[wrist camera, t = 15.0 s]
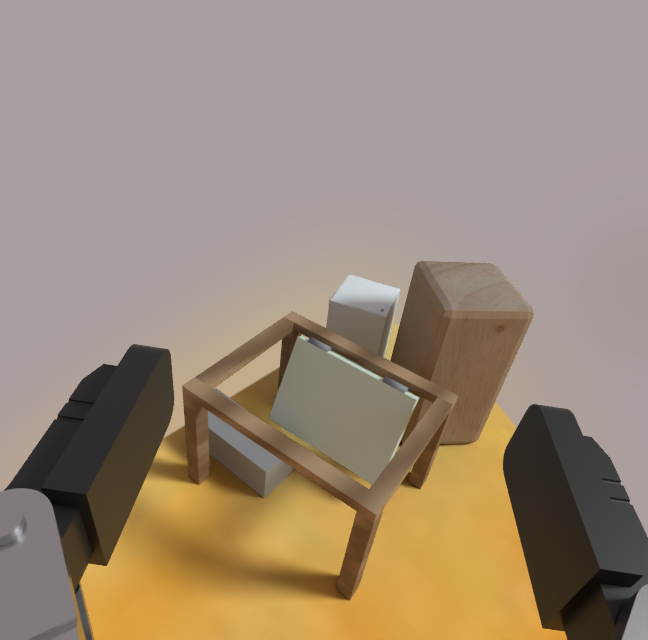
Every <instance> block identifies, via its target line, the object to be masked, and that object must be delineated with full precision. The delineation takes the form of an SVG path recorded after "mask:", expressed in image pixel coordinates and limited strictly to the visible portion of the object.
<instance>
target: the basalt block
mask: <svg viewBox="0 0 648 640" xmlns="http://www.w3.org/2000/svg"><path fill="white" fill-rule="evenodd" d="M214 390H216V391H217V392H219V393H220V394H222V395H223V396H225V397H226V398H228V399H230V398H229V397H228V396H226V395H225V394H223V393H222V392H221V391H219V390H218V389H214ZM230 400H231V401H233V400H232V399H230ZM233 402H234V403H236V402H235V401H233ZM236 404H237V403H236ZM237 405H239V404H237ZM239 406H240V405H239ZM240 407H242V406H240ZM242 408H243V407H242ZM243 409H244V408H243ZM245 410H246V409H245ZM248 412H249V411H248ZM208 434H209V454H210V455H211V456H212V457H213V458H215V459H216V460H217V461H218V462H220V463H221V464H222V465H223V466H225V467H226V468H227V469H228V470H230V471H231V472H232V473H233V474H235V475H236V476H237V477H238V478H239V479H241V480H242V481H243V482H244V483H246V484H247V485H248V486H249V487H251V488H252V489H253V490H254V491H256V492H257V493H258V494H259V495H260V496H262V497H263V498H265V497H266V496H267V495H268V494H269V493H270V492H271V491H272V490H273V489H275V488H276V487H277V486H278V485H279V484H280V483H281V482H282V481H283V480H284V479H285V478H286V477H287V476H288V475H289V474H290V473H291V472H292V471H293V468H292V467H290V466H289V465H288V464H286V463H285V462H283V461H282V460H280V459H279V458H277V457H276V456H274V455H273V454H271V453H270V452H268V451H267V450H265V449H264V448H262V447H261V446H259V445H258V444H256V443H255V442H253V441H252V440H250V439H249V438H247V437H246V436H245V435H243V434H242V433H240V432H239V431H237V430H236V429H234V428H233V427H231V426H230V425H228V424H227V423H225V422H224V421H222V420H221V419H219V418H218V417H216V416H215V415H213V414H212V413H210V412H209V411H208Z"/></svg>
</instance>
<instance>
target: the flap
mask: <svg viewBox="0 0 648 640" xmlns="http://www.w3.org/2000/svg"><path fill="white" fill-rule="evenodd" d="M418 400H419V397H417V396H415V395H413V394H412V393H410V392H408V387H406V386H404V385H402V384H400V383H398V382H396V381H394V380H393V379H391V378H389V377H387V376H386V377H385V378H384V379H383V378H381V377H379V376H378V375H376V374H374V373H372V372H370V371H368V370H366V369H364V368H362V367H360V366H359V365H357V364H355V363H353V362H351V361H349V360H347V359H345V358H343V357H342V356H340V355H338V354H336V353H334V352H332V351H331V347H330V346H328V345H326V344H324V343H322V342H320V341H318V340H316V339H315V338H313V337H311V338H310V339H308V338H305V337H304V336H299V337H297V340H296V343H295V345H294V348H293V351H292V354H291V357H290V359H289V362H288V365H287V368H286V371H285V373H284V376H283V379H282V382H281V385H280V387H279V390H278V393H277V396H276V399H275V401H274V404H273V407H272V410H271V413H270V415H269V419H270V420H272V421H273V422H275V423H277V424H278V425H280V426H281V427H283V428H284V429H286V430H288V431H289V432H291V433H292V434H294V435H295V436H297V437H299V438H300V439H302V440H303V441H305V442H306V443H308V444H310V445H311V446H313V447H314V448H316V449H317V450H319V451H321V452H322V453H324V454H325V455H327V456H328V457H330V458H331V459H333V460H335V461H336V462H338V463H339V464H341V465H342V466H344V467H346V468H347V469H349V470H350V471H352V472H353V473H355V474H357V475H358V476H360V477H361V478H363V479H364V480H366V481H368V482H369V483H371V484H372V485H373V483H374V482H375V481H376V479H377V478H378V477H379V475H380V474H381V473H382V471H383V470H384V469H385V467H386V466H387V465H388V463H389V462H390V461H391V459H392V458H393V457H394V454H395V452H396V450H397V448H398V445H399V443H400V441H401V439H402V436H403V434H404V432H405V429H406V427H407V425H408V423H409V420H410V418H411V416H412V414H413V411H414V409H415V407H416V404H417V402H418Z"/></svg>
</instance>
